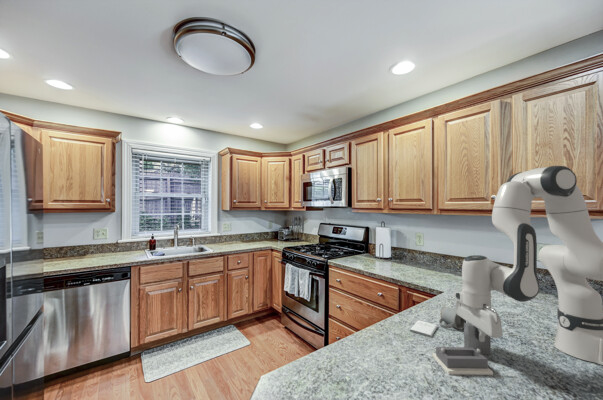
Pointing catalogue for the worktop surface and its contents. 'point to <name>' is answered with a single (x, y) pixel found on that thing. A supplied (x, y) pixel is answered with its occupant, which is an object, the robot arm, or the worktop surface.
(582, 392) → the worktop surface
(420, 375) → the worktop surface
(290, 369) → the worktop surface
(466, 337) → the block
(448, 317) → the ceramic mug
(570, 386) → the worktop surface
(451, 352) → the dock
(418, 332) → the external hard drive
